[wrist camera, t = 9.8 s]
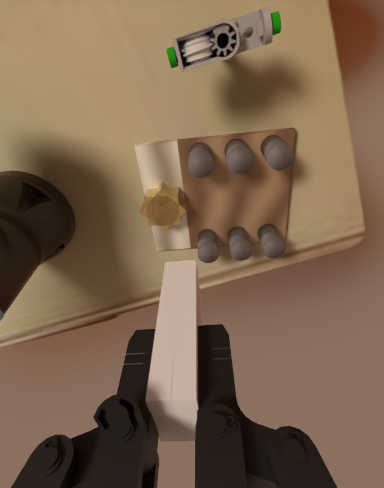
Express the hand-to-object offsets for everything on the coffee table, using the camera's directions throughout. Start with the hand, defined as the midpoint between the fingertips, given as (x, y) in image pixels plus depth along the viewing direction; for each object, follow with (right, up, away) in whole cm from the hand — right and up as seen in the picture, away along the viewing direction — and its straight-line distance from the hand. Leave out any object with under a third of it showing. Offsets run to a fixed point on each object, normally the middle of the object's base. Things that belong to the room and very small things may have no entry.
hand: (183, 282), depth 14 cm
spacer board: (+4, +10, +30) cm, 32 cm away
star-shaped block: (-4, +8, +30) cm, 31 cm away
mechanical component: (+3, +26, +19) cm, 32 cm away
